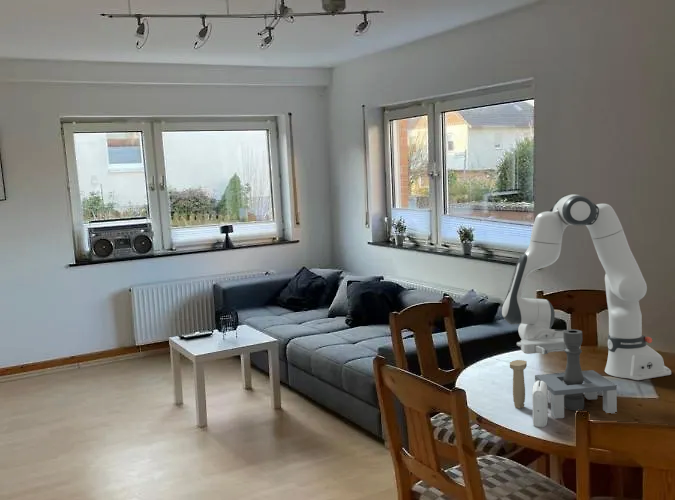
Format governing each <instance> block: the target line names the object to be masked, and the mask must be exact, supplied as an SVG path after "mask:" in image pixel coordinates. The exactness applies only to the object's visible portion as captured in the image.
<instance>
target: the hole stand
mask: <svg viewBox="0 0 675 500" xmlns="http://www.w3.org/2000/svg"><path fill="white" fill-rule="evenodd" d="M564 374H565V372H555V373H544V374H535V375H534V383H535V382H536V381H544V382H545V383H546V385H547V400H548V397H549V396H548V393H550V416H551V417H552V418H553V419H555V420H557V419H563V418H565V407H564V396H565V395H566V394H577V393H583V396H584V398H586V399H587V400H589V401H590V400H597V399H598V393H599V392H602V411H605V412H604V413H605V414H607V413H611V414H616V413H615V412H617V413H618V409H617V407H618V405H617V404H618V401H617V397H618V396H617V391H618V389H617V384H615V383H614V382H612V381H610V380H609V379H608V378H606V377H604V376H602V374H599V373H598V372H597V371H595V370H593V369H591V370H589V369H587V370H582V374H583V378H584V381H583V384H577V385H566V384H565V382H564ZM548 401H549V400H548Z"/></svg>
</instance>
